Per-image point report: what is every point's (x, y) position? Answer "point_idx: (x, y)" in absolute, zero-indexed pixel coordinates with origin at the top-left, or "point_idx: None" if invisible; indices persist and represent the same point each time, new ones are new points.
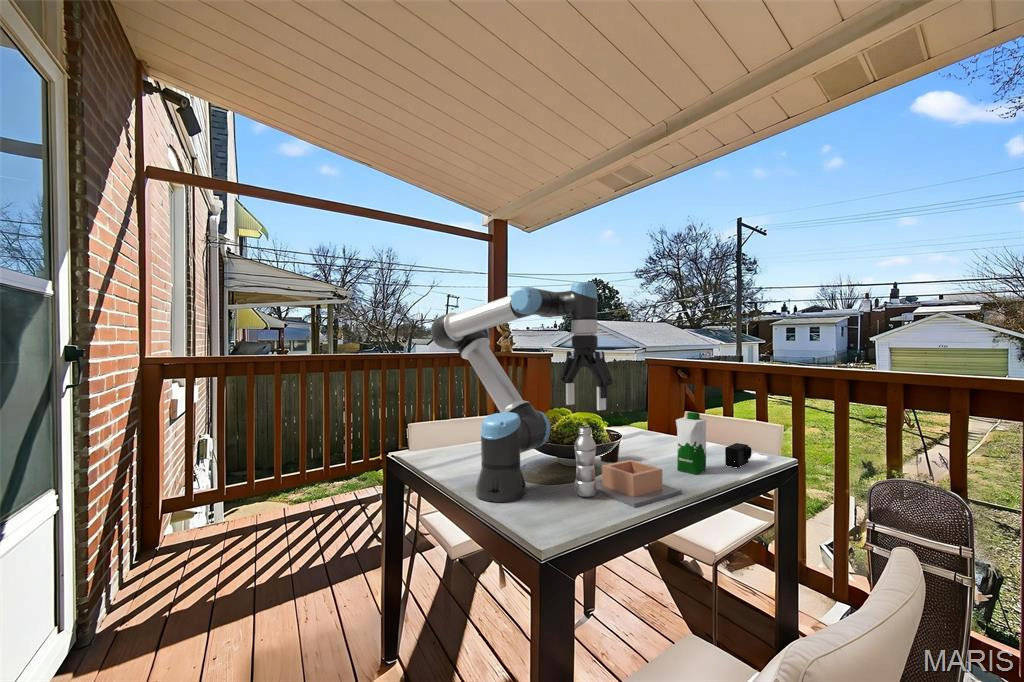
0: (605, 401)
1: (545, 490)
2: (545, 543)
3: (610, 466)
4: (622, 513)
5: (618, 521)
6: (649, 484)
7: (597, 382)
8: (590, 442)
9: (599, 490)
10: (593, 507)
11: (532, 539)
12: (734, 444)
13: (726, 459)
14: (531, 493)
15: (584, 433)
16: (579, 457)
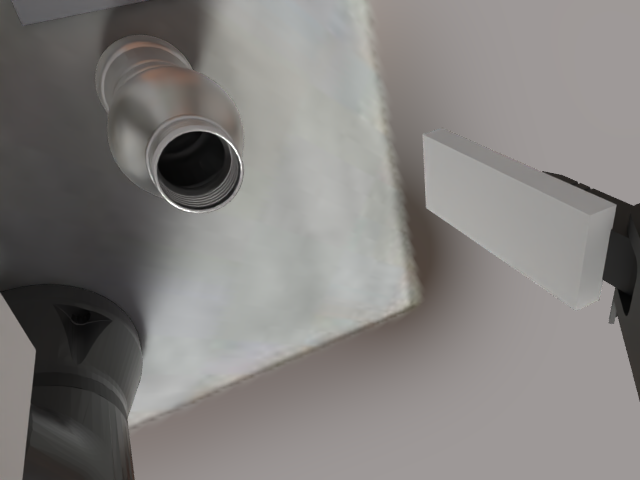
0: (489, 154)
1: (37, 210)
2: (392, 294)
3: None
4: (335, 43)
5: (375, 90)
6: None
7: (624, 333)
8: (240, 135)
9: (127, 3)
10: (260, 109)
11: (368, 313)
12: None
13: None
14: (64, 266)
15: (229, 181)
16: (196, 166)
